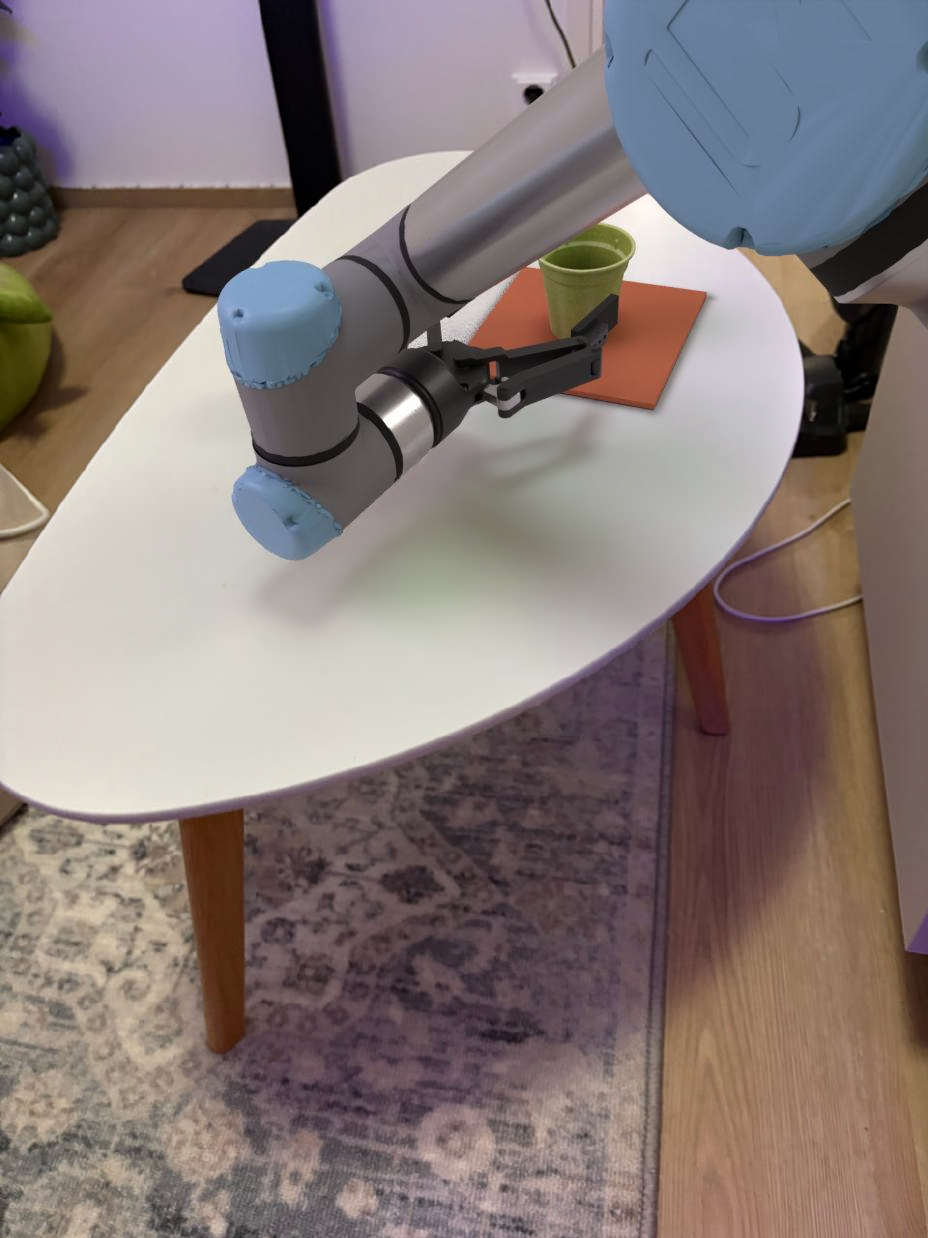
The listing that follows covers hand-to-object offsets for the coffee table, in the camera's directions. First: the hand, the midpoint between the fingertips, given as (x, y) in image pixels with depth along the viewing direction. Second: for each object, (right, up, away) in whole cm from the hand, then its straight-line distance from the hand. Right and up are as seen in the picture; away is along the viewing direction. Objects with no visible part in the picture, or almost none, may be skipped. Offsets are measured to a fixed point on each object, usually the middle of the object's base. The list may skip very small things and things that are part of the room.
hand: (548, 288), depth 84 cm
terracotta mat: (+4, -1, +9) cm, 10 cm away
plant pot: (+4, -1, +9) cm, 10 cm away
